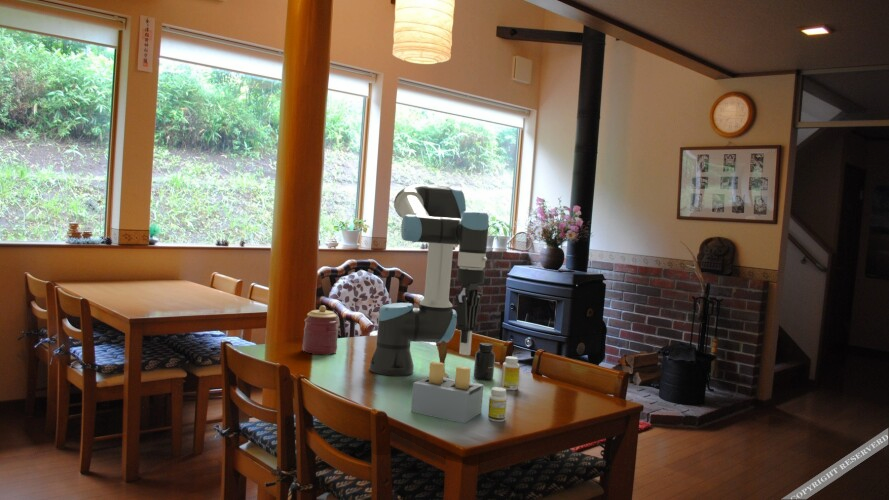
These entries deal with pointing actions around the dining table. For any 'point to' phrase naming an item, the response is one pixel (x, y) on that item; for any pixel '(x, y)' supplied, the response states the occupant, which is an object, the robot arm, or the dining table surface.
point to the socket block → (447, 400)
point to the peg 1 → (436, 372)
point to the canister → (320, 332)
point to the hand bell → (443, 355)
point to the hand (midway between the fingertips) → (464, 354)
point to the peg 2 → (462, 377)
